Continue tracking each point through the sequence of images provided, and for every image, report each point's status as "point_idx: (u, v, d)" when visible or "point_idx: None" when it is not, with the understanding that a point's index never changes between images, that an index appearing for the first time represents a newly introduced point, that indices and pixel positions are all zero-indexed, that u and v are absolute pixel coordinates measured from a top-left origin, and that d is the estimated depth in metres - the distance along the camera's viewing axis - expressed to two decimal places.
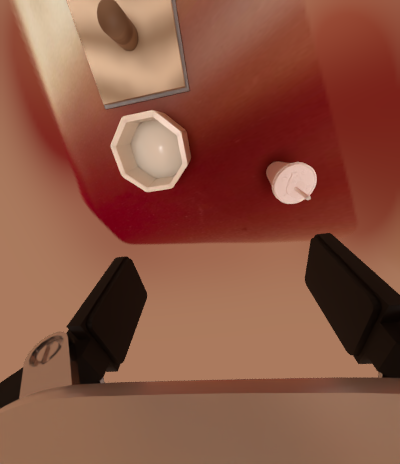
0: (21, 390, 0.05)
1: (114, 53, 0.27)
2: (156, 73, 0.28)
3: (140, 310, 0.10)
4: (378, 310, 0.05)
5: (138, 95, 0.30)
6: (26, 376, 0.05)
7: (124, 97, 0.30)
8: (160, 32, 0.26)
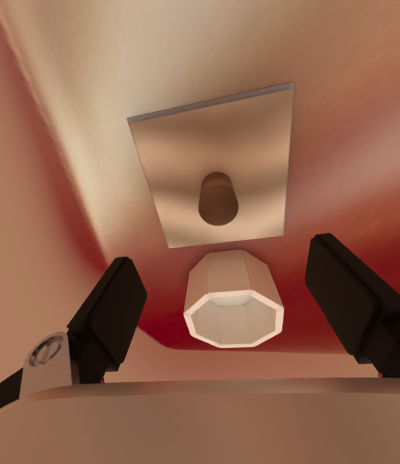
0: (21, 390, 0.05)
1: (194, 203, 0.20)
2: (247, 223, 0.21)
3: (140, 310, 0.10)
4: (378, 310, 0.05)
5: (217, 241, 0.23)
6: (26, 376, 0.05)
7: (198, 243, 0.23)
8: (264, 185, 0.19)
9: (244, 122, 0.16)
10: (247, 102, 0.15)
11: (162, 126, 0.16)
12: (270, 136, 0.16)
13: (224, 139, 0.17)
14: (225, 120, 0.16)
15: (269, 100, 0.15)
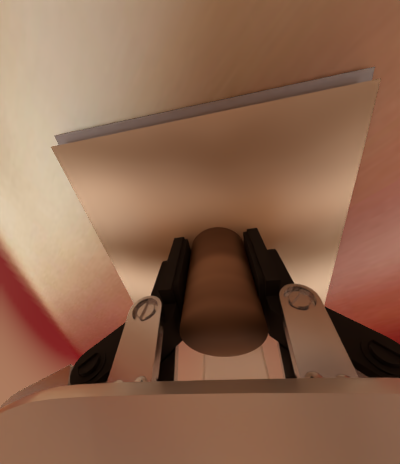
0: (122, 335, 0.06)
1: None
2: None
3: None
4: (263, 286, 0.07)
5: None
6: (127, 325, 0.06)
7: None
8: (300, 247, 0.11)
9: (272, 146, 0.08)
10: (281, 107, 0.07)
11: (115, 152, 0.09)
12: (320, 170, 0.09)
13: (231, 175, 0.09)
14: (234, 141, 0.08)
15: (326, 103, 0.07)
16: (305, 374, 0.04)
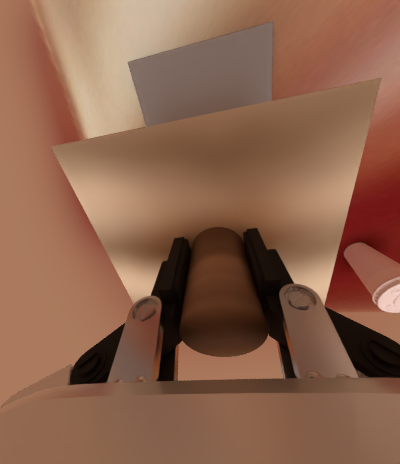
0: (122, 335, 0.06)
1: None
2: None
3: None
4: (263, 286, 0.07)
5: None
6: (127, 325, 0.06)
7: None
8: (300, 247, 0.11)
9: (272, 146, 0.08)
10: (281, 106, 0.07)
11: (116, 152, 0.09)
12: (320, 170, 0.09)
13: (231, 175, 0.09)
14: (234, 141, 0.08)
15: (326, 103, 0.07)
16: (305, 374, 0.04)
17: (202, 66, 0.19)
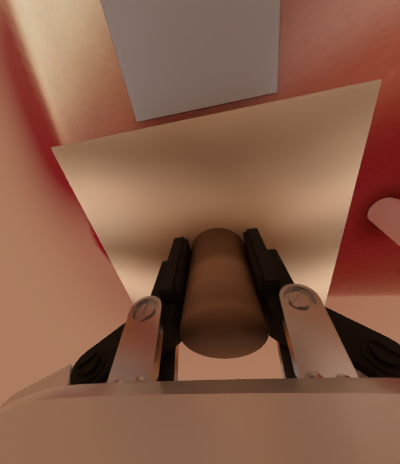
0: (122, 335, 0.06)
1: None
2: None
3: None
4: (263, 286, 0.07)
5: None
6: (127, 325, 0.06)
7: None
8: (300, 248, 0.11)
9: (272, 147, 0.08)
10: (282, 107, 0.07)
11: (115, 152, 0.09)
12: (321, 171, 0.09)
13: (231, 176, 0.09)
14: (234, 142, 0.08)
15: (326, 104, 0.07)
16: (305, 374, 0.04)
17: None
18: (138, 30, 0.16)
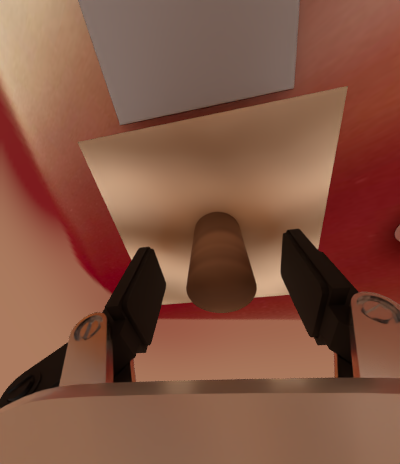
0: (65, 361, 0.05)
1: (185, 252, 0.14)
2: (261, 277, 0.15)
3: (161, 298, 0.10)
4: (326, 294, 0.06)
5: None
6: (70, 348, 0.06)
7: None
8: None
9: (262, 141, 0.10)
10: (268, 109, 0.09)
11: (131, 146, 0.10)
12: (303, 162, 0.10)
13: (228, 166, 0.11)
14: (231, 137, 0.10)
15: (304, 106, 0.09)
16: None
17: None
18: (117, 8, 0.13)
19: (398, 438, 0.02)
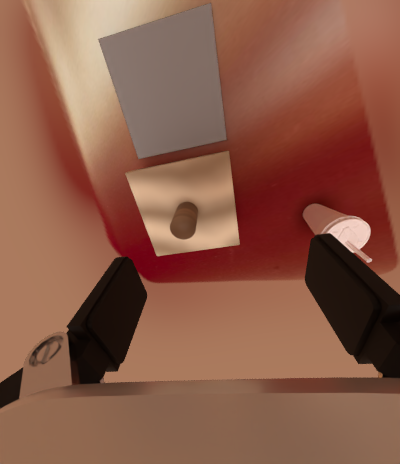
0: (21, 390, 0.05)
1: None
2: (212, 236, 0.29)
3: (140, 310, 0.10)
4: (378, 310, 0.05)
5: (192, 250, 0.30)
6: (26, 376, 0.05)
7: (178, 251, 0.30)
8: (220, 209, 0.26)
9: (201, 171, 0.24)
10: (201, 159, 0.23)
11: (147, 174, 0.25)
12: (219, 178, 0.24)
13: (188, 181, 0.25)
14: (188, 170, 0.24)
15: (214, 158, 0.23)
16: None
17: (158, 41, 0.24)
18: (139, 108, 0.27)
19: (398, 438, 0.02)
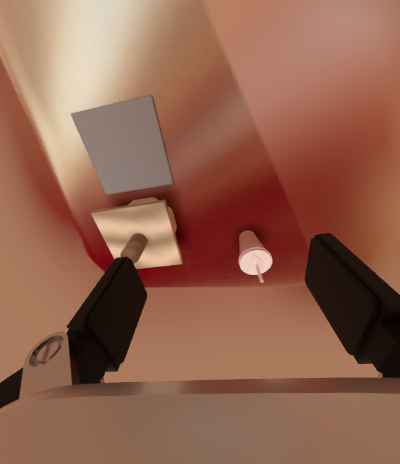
0: (21, 390, 0.05)
1: None
2: (160, 257, 0.38)
3: (140, 310, 0.10)
4: (378, 310, 0.05)
5: (147, 267, 0.39)
6: (26, 376, 0.05)
7: (136, 267, 0.40)
8: (163, 239, 0.36)
9: (146, 213, 0.33)
10: (145, 206, 0.32)
11: (107, 214, 0.33)
12: (160, 219, 0.33)
13: (138, 220, 0.34)
14: (136, 212, 0.33)
15: (154, 205, 0.32)
16: None
17: (115, 117, 0.32)
18: (104, 160, 0.36)
19: (398, 438, 0.02)
